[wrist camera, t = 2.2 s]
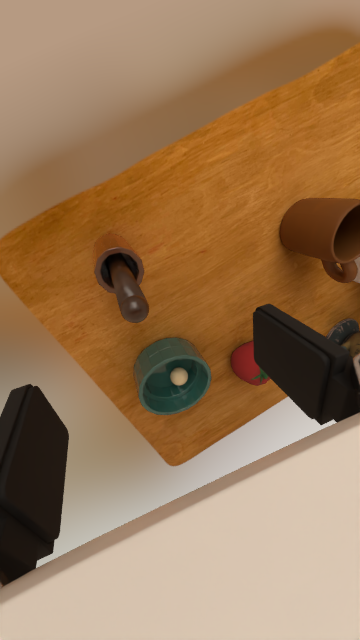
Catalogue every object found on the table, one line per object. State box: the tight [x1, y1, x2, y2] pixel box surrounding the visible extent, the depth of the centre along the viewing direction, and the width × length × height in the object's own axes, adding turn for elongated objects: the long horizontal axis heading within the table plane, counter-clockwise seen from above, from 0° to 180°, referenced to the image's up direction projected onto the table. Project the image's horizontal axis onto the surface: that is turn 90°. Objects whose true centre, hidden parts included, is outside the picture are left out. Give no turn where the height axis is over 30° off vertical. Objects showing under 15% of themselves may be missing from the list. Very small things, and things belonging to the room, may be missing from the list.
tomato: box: [231, 341, 270, 386], centre depth 42 cm, size 8×8×7 cm
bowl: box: [133, 338, 211, 415], centre depth 38 cm, size 12×12×6 cm
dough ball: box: [170, 367, 188, 385], centre depth 40 cm, size 3×3×3 cm
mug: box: [280, 198, 360, 283], centre depth 34 cm, size 12×8×9 cm, turn 29°
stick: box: [106, 253, 149, 323], centre depth 22 cm, size 2×2×18 cm
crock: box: [93, 234, 144, 294], centre depth 26 cm, size 4×4×9 cm
